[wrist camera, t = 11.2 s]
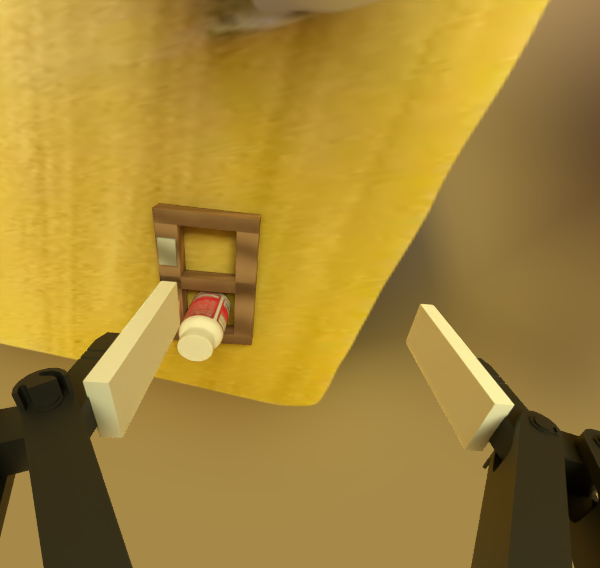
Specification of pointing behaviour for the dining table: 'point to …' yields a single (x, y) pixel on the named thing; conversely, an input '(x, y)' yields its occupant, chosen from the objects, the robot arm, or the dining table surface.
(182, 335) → the pill bottle
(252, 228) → the socket board
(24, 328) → the dining table surface
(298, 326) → the dining table surface
